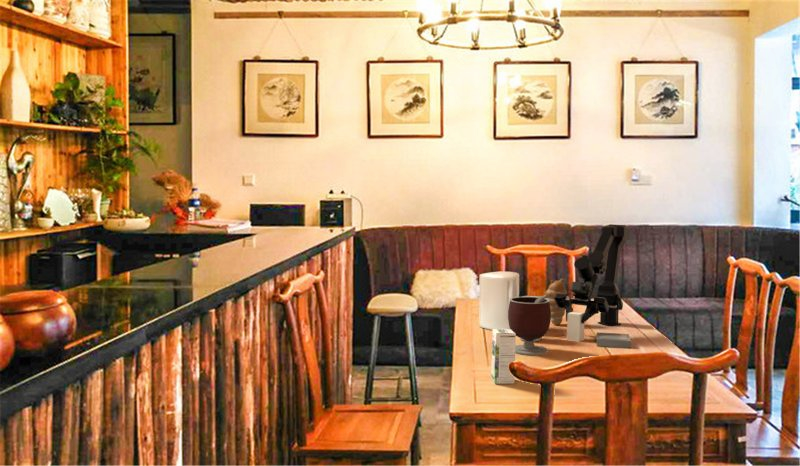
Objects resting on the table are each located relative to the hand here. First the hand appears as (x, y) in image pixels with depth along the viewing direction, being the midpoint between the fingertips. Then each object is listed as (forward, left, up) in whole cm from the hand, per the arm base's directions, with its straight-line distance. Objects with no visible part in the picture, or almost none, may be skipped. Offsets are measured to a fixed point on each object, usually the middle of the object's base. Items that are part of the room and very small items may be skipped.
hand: (574, 321), depth 256 cm
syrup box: (+53, +29, -7) cm, 61 cm away
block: (-1, -1, -7) cm, 7 cm away
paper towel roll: (+11, -27, -7) cm, 29 cm away
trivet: (-8, +10, -7) cm, 15 cm away
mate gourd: (+24, +5, -7) cm, 25 cm away
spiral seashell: (-12, -24, -7) cm, 27 cm away
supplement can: (+13, -9, -7) cm, 17 cm away
